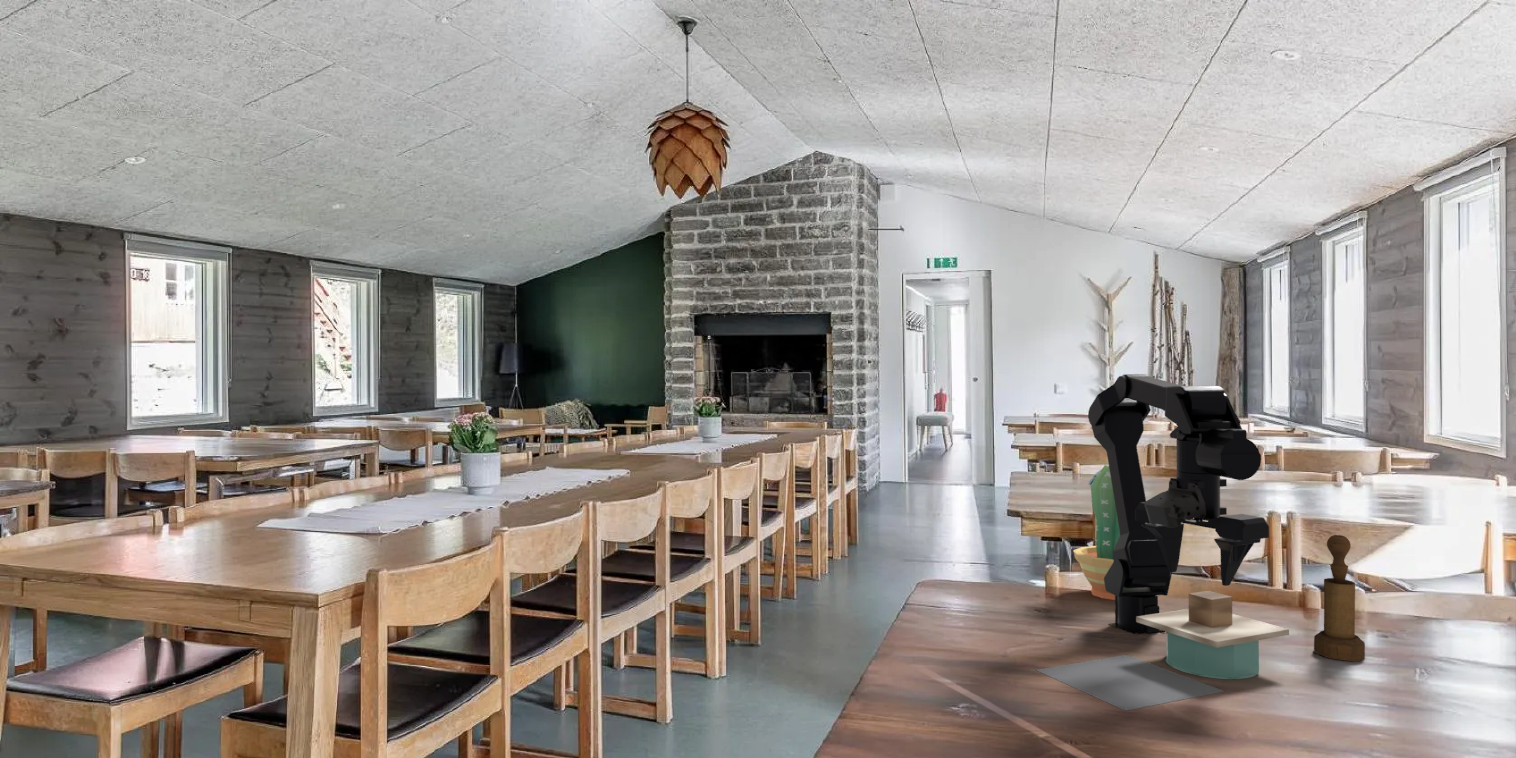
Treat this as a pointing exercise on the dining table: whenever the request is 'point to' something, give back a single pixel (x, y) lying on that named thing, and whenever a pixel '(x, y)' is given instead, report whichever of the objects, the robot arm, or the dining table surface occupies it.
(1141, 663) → the mat
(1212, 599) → the lid
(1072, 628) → the dining table surface
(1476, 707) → the dining table surface
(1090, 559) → the potted cactus
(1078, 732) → the dining table surface
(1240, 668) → the bowl
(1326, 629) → the brown wooden upright piece
